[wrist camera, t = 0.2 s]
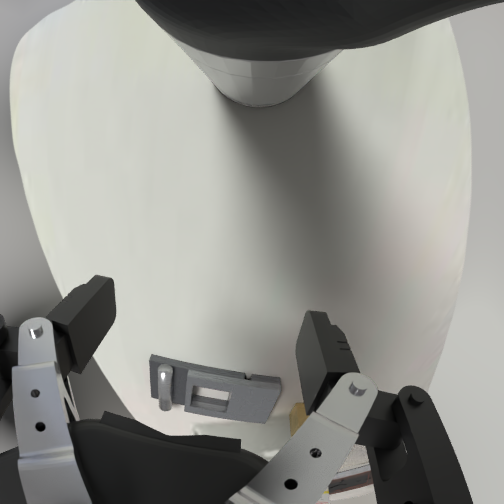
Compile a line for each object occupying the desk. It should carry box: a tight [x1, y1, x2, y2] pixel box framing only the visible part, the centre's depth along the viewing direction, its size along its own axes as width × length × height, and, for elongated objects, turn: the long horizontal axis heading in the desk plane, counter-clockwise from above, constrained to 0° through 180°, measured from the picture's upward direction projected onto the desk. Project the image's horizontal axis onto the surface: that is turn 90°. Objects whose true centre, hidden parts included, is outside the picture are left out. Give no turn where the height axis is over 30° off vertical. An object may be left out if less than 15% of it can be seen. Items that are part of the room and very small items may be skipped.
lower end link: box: [149, 354, 245, 411], centre depth 37 cm, size 9×13×3 cm
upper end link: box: [184, 370, 281, 424], centre depth 37 cm, size 9×12×2 cm
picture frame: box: [328, 464, 374, 495], centre depth 57 cm, size 16×2×22 cm
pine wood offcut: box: [289, 403, 309, 437], centre depth 35 cm, size 4×4×12 cm
